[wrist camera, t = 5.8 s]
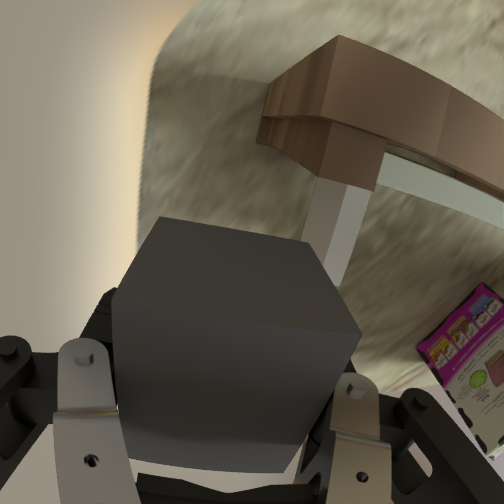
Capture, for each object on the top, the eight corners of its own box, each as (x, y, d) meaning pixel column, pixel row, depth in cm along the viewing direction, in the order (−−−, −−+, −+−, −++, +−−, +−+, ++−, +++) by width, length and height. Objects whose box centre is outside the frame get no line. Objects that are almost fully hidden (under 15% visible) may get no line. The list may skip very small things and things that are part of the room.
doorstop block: (309, 242, 11) (362, 334, 6) (266, 372, 13) (283, 472, 9) (159, 216, 10) (111, 299, 6) (148, 355, 12) (125, 457, 8)
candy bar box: (429, 363, 34) (491, 464, 19) (413, 347, 32) (483, 458, 17) (492, 301, 31) (573, 384, 16) (482, 278, 29) (576, 367, 14)
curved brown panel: (509, 179, 25) (619, 231, 11) (496, 218, 26) (600, 284, 13) (269, 83, 21) (338, 34, 7) (255, 142, 22) (302, 184, 9)
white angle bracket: (466, 188, 24) (565, 238, 13) (437, 269, 27) (515, 345, 16) (303, 131, 21) (379, 150, 10) (276, 238, 25) (315, 339, 14)
